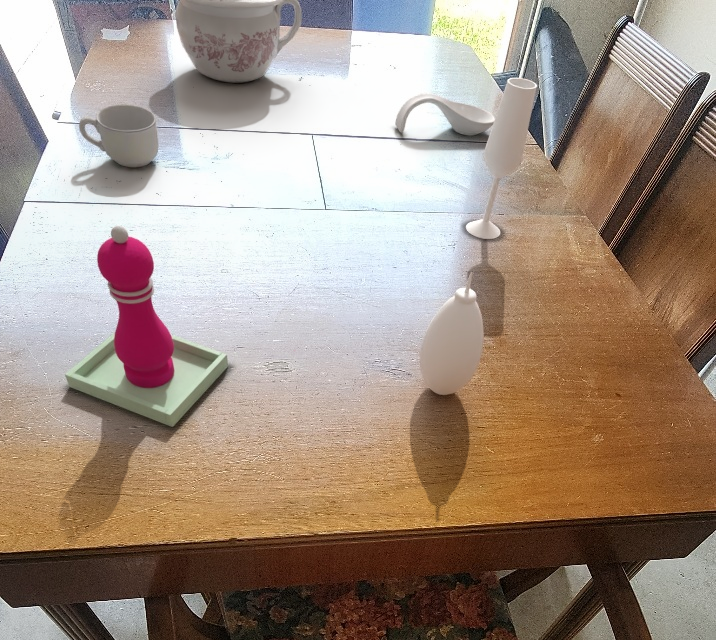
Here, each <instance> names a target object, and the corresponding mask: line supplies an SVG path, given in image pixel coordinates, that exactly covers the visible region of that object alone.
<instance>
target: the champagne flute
mask: <svg viewBox="0 0 716 640" xmlns="http://www.w3.org/2000/svg"><path fill="white" fill-rule="evenodd" d="M537 87H538V85H537V83H535V82H534V81H532V80H530V79H527V78H522V77H511V78H508V79H507V81H506V84H505V88H504V90H503V93H502V96H501V99H500V102H499V105H498V109H497V111H496V115H495V116H494V117H495V120H494V123H493V125H492V126H491V129H490V130H491V131H490V133H489V136H488V139H487V141H486V144H485V148H484V151H483V161H484V164H485V166H486V167H487V170H488V171H489V173H490V175H491V176H493V179H492V183H491V185H490V189H489V194H488V197H487V202H486V206H485V210H484V213H483V217H482V218H481V219H477V220H474V221H470V222H468V223H467V224H466V226H465V230H466V231H467V232H468V233H469V234H470V235H472V236H474V237H475V238H479V239H484V240H493V239H496V238H499V237H500V236H501V230H500V229H499V227H498V226H497V225H495V224H494V223H493V222H492V221H490V218H491V214H492V211H493V207H494V203H495V199H496V196H497V193H498V189H499V185H500V181H501V178H504V177H506V176H508V175H509V174H511V173H513V172H515V170H516V169H518V167H519V166H520V165H521V163H522V161H523V156H524V151H525V147H526V141H527V137H528V132H529V128H530V127H529V126H530V122H531V116H532V111H533V106H534V102H535V97H536V93H537Z"/></svg>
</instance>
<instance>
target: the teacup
mask: <svg viewBox="0 0 716 640" xmlns="http://www.w3.org/2000/svg"><path fill="white" fill-rule="evenodd" d="M87 124H90V125H92V126H93V127H94V128H95V130H96V132H97V133H98V134H99V138H100V140H99V139H97V138H95V137H94V136H91V135H90V134H89V133H88V132H87V130H86V128H85V127H86V125H87ZM157 127H158V126H157V117H156V115H155V114H154V113H153V112H152V111H151V110H150V109H148V108H145V107H143V106H139V105H135V104H126V103H125V104H124V103H123V104H112V105H108V106H105V107H103V108H101V109H100V110H98V111H97V113H96V115H95V118H94V117H92V116H84V117H82V118H81V119H80V120H79V124H78V129H79V132H80V134H81V136H82V137H83V138H84V139H85V140H86V141H87V142H88V143H90V144H92V145H94V146H96V147H97V148H99V150H100V151H101V152H105V153H106V155H107V156H108V157H109V158H110V159H111V160H113V161H114V162H116V163H117V164H118V165H121V166H122V167H126V168H141V167H142V168H143V167H145V166H147V165H149V164H150V163H151V162H152V161H153V160H154V159H155V158H156V157H157V155H158V153H159V136H158V135H159V134H158V128H157Z"/></svg>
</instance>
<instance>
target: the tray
mask: <svg viewBox="0 0 716 640" xmlns="http://www.w3.org/2000/svg"><path fill="white" fill-rule="evenodd" d="M170 334H171V333H170ZM114 337H115V331H114V332H113V333H112V334H110V336H109V337H107V338H106V339H105V340H103V342H101V343H100V344H99V345H97V346H96V347H95V348H94V349H93V350H92V351H91V352H89V353H88V354H87V355H86V356H85V357H84V358H82V359H81V360H80V361H79V362H77V363H76V364H75V365H74V366H73V367H72V368H70V369H69V370H67V372H66V373H64V377H65V380H66V382H67V384H68V387H69V388H71V389H73V390H76V391H80V392H82V393H84V394H86V395H89V396H91V397H94V398H97V399H99V400H102V401H104V402H107V403H110V404H111V405H115V406H117V407H120V408H122V409H125V410H127V411H131V412H132V413H135V414H138V415H141V416H142V417H146V418H148V419H150V420H153V421H155V422H158V423H161V424H163V425H166V426H169V427H172V428H173V427H174V426H175V425H176V424H177V423H179V421H180V420H181V419H182V417H183V416H185V415H186V413H187V412H188V411H189V410H190V409H191V408H192V407H193V406H194V404H195V403H196V402H197V401H199V399H200V398H201V397H202V396H203V395H204V393H205V392H206V391H207V390H208V389H210V387H211V386H212V385H213V384H214V383H215V381H216V380H217V379H219V377H220V376H221V375H222V374H223V373H224V372H225V371H226V369H227V368H228V367H229V362H228V354H227V353H224V352H222V351H218V350H216V349H214V348H210V347H208V346H206V345H203V344H199V343H196V342H194V341H191V340H188V339H186V338H182V337H180V336H177V335H175V334H171V337H172V340H173V344H174V351H173V354H172V356H171V357H172V360H173V365H174V375H173V377H172V379H171V380H170V381H168V382H167V383H165V384H164V385H161V386H158V387H153V388H143V387H138V386H136V385H134V384H132V383H131V382H129V380H128V379H127V377H126V374H125V370H124V366H123V365H124V363H123V362H121V361H120V359H119V358H118V357H117V355H116V352H115V346H114Z"/></svg>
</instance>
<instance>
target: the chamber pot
mask: <svg viewBox="0 0 716 640" xmlns="http://www.w3.org/2000/svg"><path fill="white" fill-rule="evenodd" d="M287 4H288V5H292V6H293V11H294V19H293V24H292V25H291V27H290V29H288V31H287V33H286V34H285V35H283V36H282V37H280V36H281V19H282V11H281V10H282V7H283V6H284V5H287ZM301 7H302V6H301V5H300V2H299V0H178V2H177V6H176V9H175V23H176V29H177V33H178V36H179V40H180V44H181V47H182V48H183V50H184V52H185V53H186V55H187V57H188V58H189V60H190V62H191V64H192V65H193V66H194V67H195V69H196V70H197V71H198V72H199V73H200V74H202V75H203V76H206V77H207V78H210V79H211V80H215V81H218V82H221V83H231V84H244V83H249V82H252V81H255V80H258V79H260V78H262V77H263V76H264V75H266V73H267V72H268V71H269V70H270V67H271V66H272V64H273V62H274V60H275V59H276V57H277V55H278V54H279V52H280V51H281V50H282V49H283V48H284V46H286V45H287V44H288V43H289V42H290V41H291V40H293V39H294V37H295V36H296V34H297V32H298V31H299V29H300V28H301V25H302V17H303V16H302V8H301Z"/></svg>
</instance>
